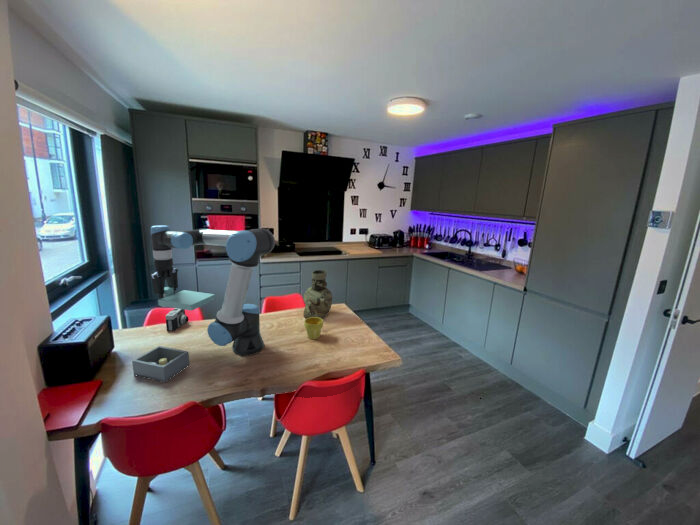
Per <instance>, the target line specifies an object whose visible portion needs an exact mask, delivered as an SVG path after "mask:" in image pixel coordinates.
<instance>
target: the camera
mask: <svg viewBox="0 0 700 525" xmlns="http://www.w3.org/2000/svg"><path fill="white" fill-rule="evenodd" d="M188 322H189V316H187V314H186V311H185V310H184V309H178V308H173V309H171V311H169V312H168V313H167V314H166V315H165V325H166V331H167V332H176V331H177V330H178V329H179V328H180V327H181V326H184V325H186V324H188ZM175 330H176V331H175Z"/></svg>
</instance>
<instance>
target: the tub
mask: <svg viewBox="0 0 700 525" xmlns="http://www.w3.org/2000/svg"><path fill="white" fill-rule="evenodd" d="M189 355H190V354H189V351H188V350H182V349H179V348H173V347H167V346H161V345H158V346H156V347H155V348H153V349H151V350H149V351H147V352H145V353H143V354H142V355H139V356H138V357H136V358H135V359H132V360H131V362H132V363H131V364H132V371H133V372H132V373H133V376H134V375H137V376H136V377H138V376H140V377H139V378H142V377H145V378H144V379H147V378H150V379H149V380H151V379H154V380H153V381H155V380H157V381H156V382H160V381H162V382H161V383H164V382H165V383H167V382H168V381H170V380H171V379H172V377H173V376H174V375H175V376H176V374H177V373H178V374H179V372H180V371H181V370H182V371H184V370H185V369H187V368H188V367H190V366H189V365H191V364H190V356H189ZM187 366H188V367H187ZM186 367H187V368H186ZM184 368H185V369H184ZM183 369H184V370H183ZM182 371H181V372H182ZM181 372H180V373H181ZM178 374H177V375H178ZM175 376H174V377H175ZM174 377H173V378H174ZM170 378H171V379H170ZM169 379H170V380H169ZM167 380H168V381H167ZM166 381H167V382H166Z"/></svg>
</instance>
